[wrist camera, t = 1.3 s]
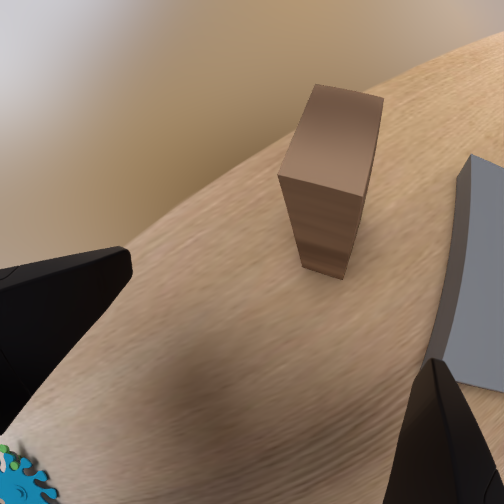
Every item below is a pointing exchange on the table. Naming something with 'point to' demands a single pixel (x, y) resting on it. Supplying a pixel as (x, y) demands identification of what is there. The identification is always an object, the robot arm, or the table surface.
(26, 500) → the gear
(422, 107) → the table surface
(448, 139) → the table surface
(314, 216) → the walnut peg
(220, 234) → the table surface
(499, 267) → the socket block
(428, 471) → the robot arm
